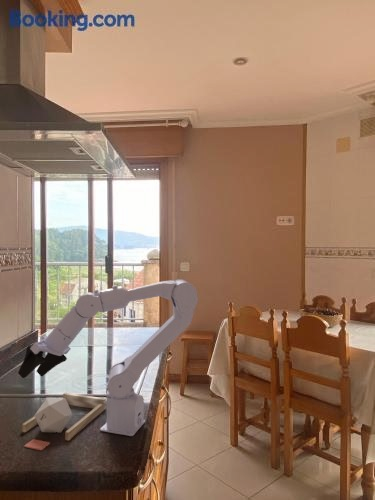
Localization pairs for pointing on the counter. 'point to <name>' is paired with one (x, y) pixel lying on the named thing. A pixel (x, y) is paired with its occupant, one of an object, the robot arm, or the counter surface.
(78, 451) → the counter surface
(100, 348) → the counter surface
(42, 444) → the mat
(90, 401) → the channel
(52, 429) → the die
